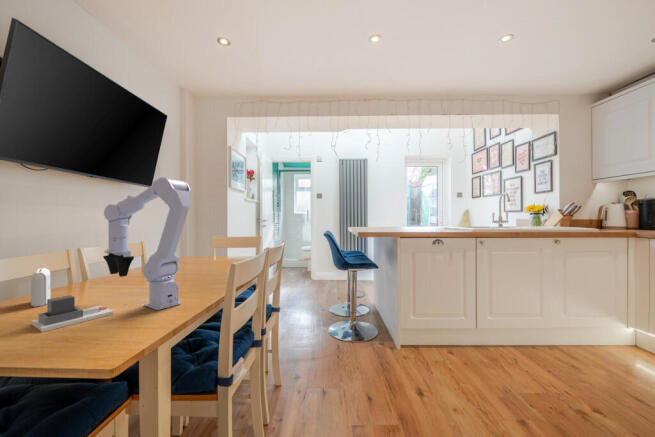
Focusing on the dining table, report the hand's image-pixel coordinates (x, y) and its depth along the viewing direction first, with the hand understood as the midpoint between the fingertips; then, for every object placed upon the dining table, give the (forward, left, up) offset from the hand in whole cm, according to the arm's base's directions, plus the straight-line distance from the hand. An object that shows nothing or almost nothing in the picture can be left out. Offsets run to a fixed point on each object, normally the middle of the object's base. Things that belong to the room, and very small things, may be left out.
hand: (118, 275), depth 101 cm
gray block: (-10, +18, -8) cm, 22 cm away
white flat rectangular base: (-10, +15, -9) cm, 20 cm away
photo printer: (+20, +16, -10) cm, 27 cm away
